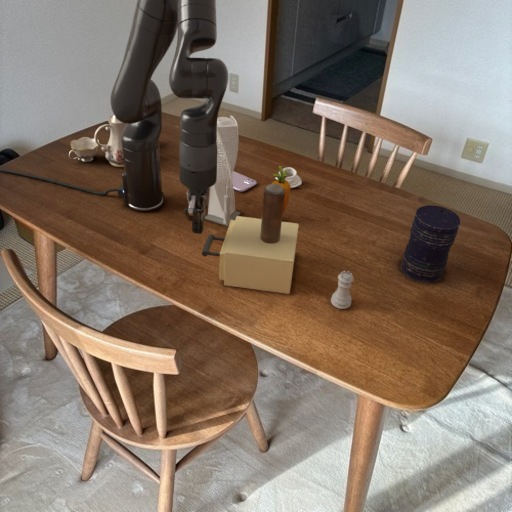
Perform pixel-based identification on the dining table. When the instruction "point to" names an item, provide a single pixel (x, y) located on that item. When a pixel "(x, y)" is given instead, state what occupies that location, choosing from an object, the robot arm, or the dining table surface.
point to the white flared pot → (292, 177)
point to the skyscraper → (224, 173)
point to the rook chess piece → (342, 291)
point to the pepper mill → (272, 213)
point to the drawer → (223, 249)
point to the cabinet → (260, 257)
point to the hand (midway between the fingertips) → (197, 231)
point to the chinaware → (89, 147)
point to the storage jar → (430, 243)
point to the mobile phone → (242, 182)
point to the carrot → (283, 186)
